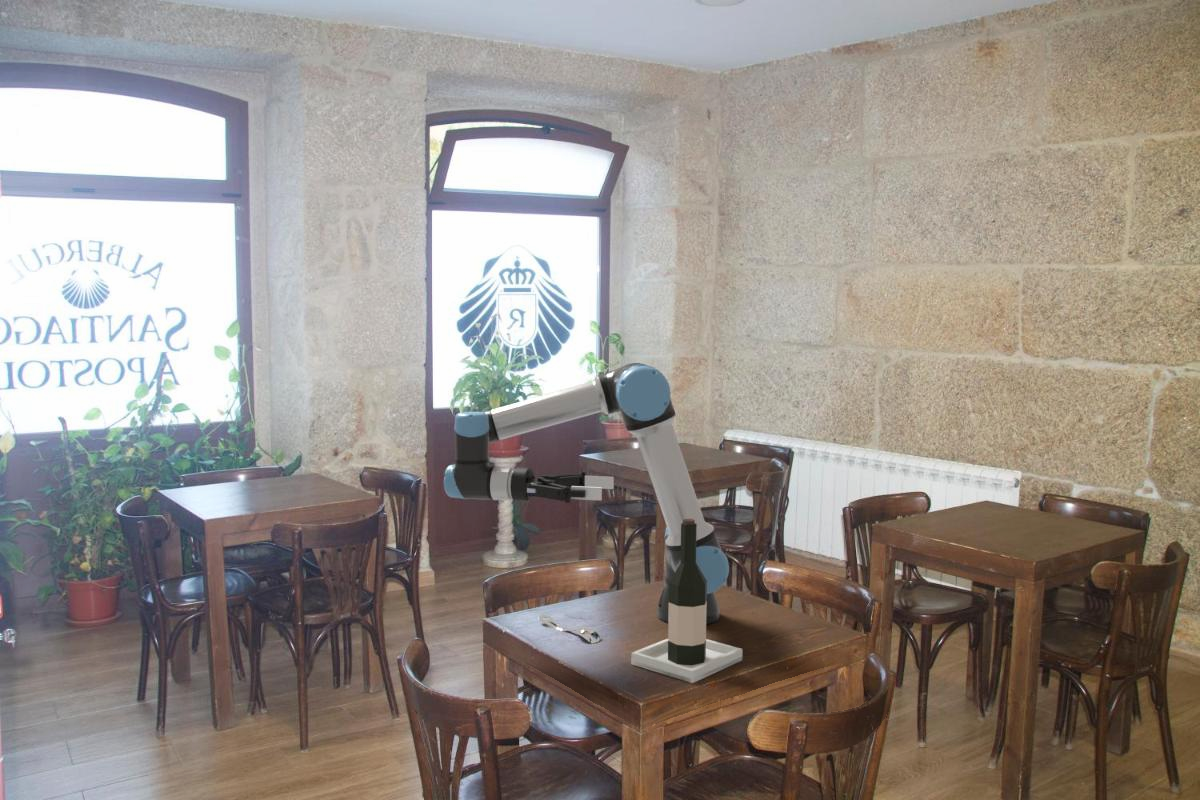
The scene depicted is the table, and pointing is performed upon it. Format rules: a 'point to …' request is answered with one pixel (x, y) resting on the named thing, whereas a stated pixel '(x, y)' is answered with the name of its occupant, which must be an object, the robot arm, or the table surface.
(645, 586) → the table surface
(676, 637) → the wine bottle
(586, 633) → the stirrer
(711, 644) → the serving tray
